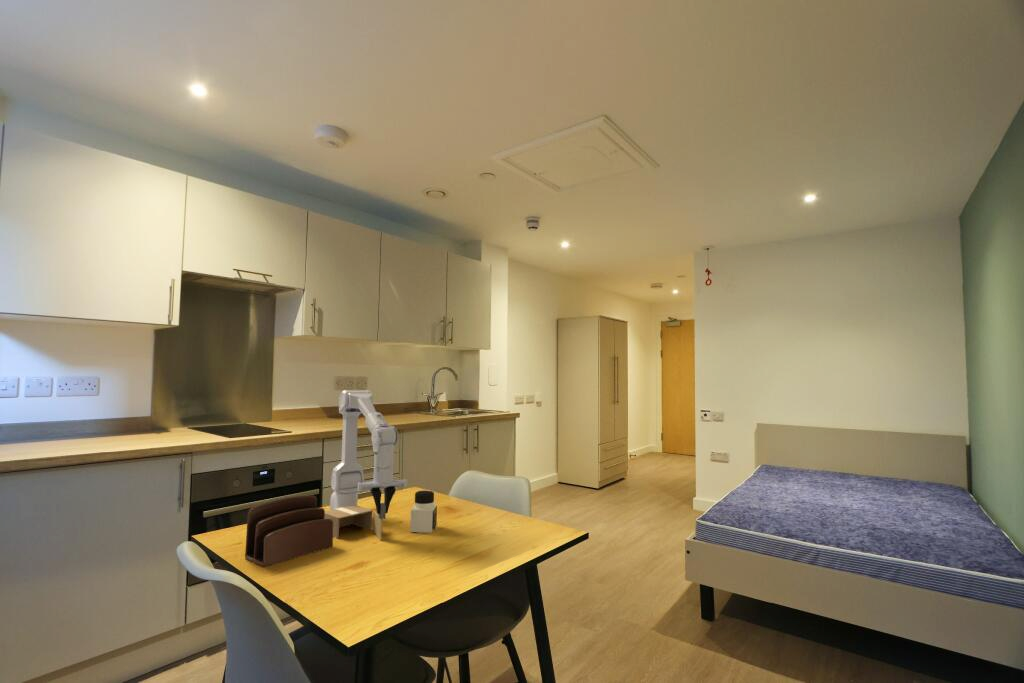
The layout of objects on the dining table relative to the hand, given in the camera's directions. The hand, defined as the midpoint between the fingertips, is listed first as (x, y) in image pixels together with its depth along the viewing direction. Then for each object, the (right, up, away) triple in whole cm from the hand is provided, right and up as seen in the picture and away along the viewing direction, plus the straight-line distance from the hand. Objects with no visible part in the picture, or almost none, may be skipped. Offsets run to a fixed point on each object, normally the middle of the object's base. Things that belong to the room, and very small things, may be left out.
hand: (382, 512), depth 147 cm
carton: (-13, -8, +6) cm, 16 cm away
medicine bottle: (+11, -9, +8) cm, 16 cm away
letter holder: (-21, -6, -14) cm, 26 cm away
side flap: (-2, -7, +2) cm, 8 cm away
